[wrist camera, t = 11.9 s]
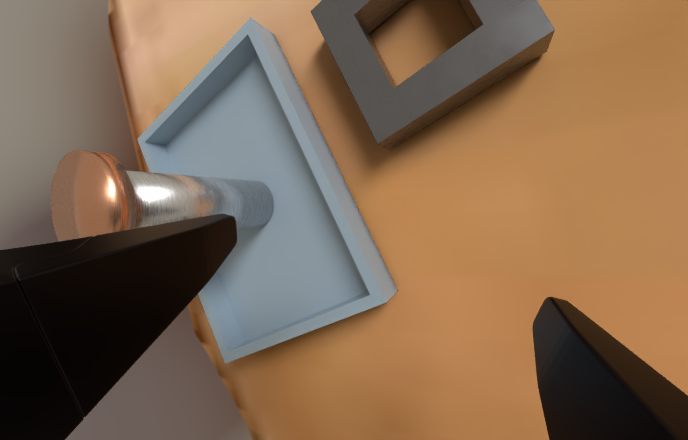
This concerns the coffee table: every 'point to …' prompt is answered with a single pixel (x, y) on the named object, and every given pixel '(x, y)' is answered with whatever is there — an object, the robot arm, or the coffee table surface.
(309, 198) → the tray
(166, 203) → the pin
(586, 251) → the coffee table surface
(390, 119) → the block
